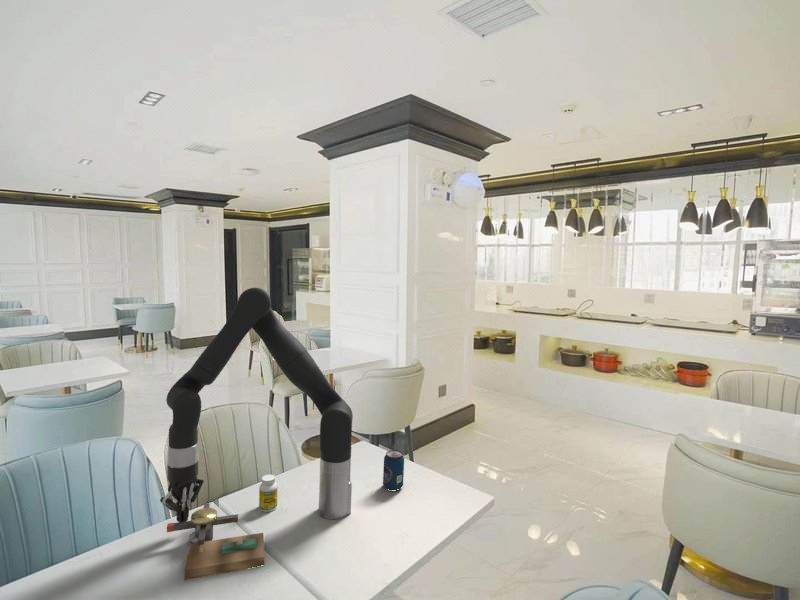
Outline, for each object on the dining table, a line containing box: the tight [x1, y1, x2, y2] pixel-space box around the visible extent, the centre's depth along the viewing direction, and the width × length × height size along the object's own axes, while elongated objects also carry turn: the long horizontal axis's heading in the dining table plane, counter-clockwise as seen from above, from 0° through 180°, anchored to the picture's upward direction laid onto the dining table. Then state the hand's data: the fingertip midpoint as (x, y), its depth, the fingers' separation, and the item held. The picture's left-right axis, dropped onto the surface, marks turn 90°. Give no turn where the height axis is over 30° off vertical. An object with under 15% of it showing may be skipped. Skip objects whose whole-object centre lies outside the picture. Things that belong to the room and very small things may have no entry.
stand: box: [183, 532, 266, 581], centre depth 110 cm, size 18×10×5 cm, turn 109°
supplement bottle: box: [258, 474, 279, 513], centre depth 134 cm, size 5×5×10 cm
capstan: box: [166, 502, 239, 545], centre depth 117 cm, size 17×17×7 cm
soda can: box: [382, 449, 405, 490], centre depth 149 cm, size 7×7×12 cm
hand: (182, 521), depth 119 cm, fingers closed
